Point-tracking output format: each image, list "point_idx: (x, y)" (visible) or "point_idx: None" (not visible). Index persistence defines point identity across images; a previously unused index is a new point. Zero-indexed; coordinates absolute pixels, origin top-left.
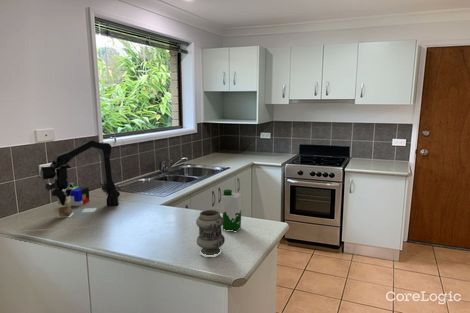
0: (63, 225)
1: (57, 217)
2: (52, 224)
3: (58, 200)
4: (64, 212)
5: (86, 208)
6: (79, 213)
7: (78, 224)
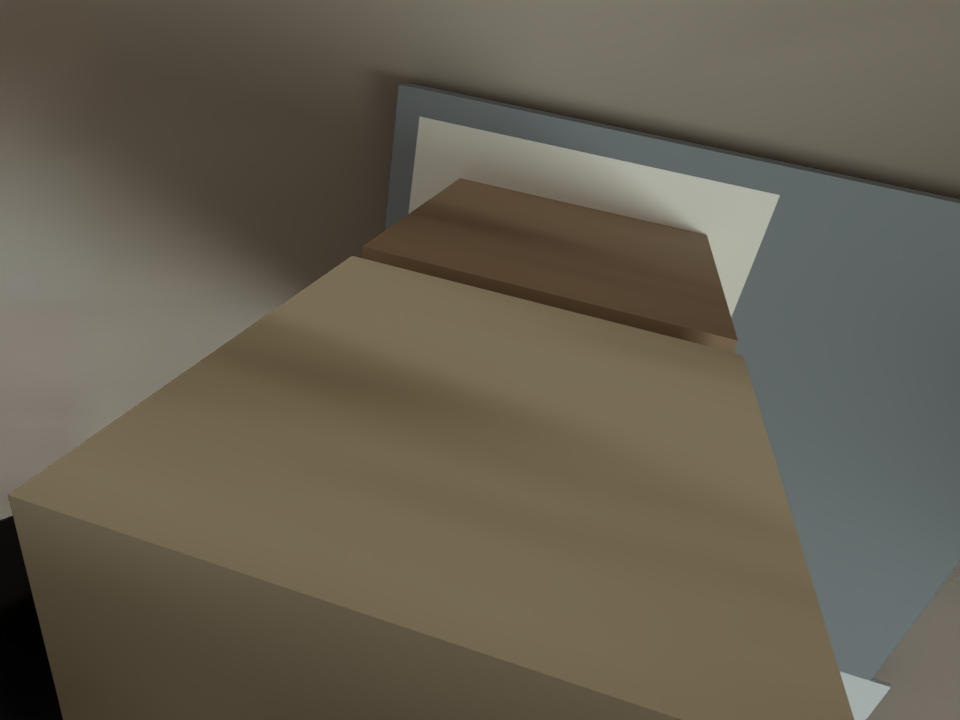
0: (11, 290)
1: (420, 134)
2: (53, 71)
3: (120, 451)
4: None
5: (871, 710)
6: None
7: None
